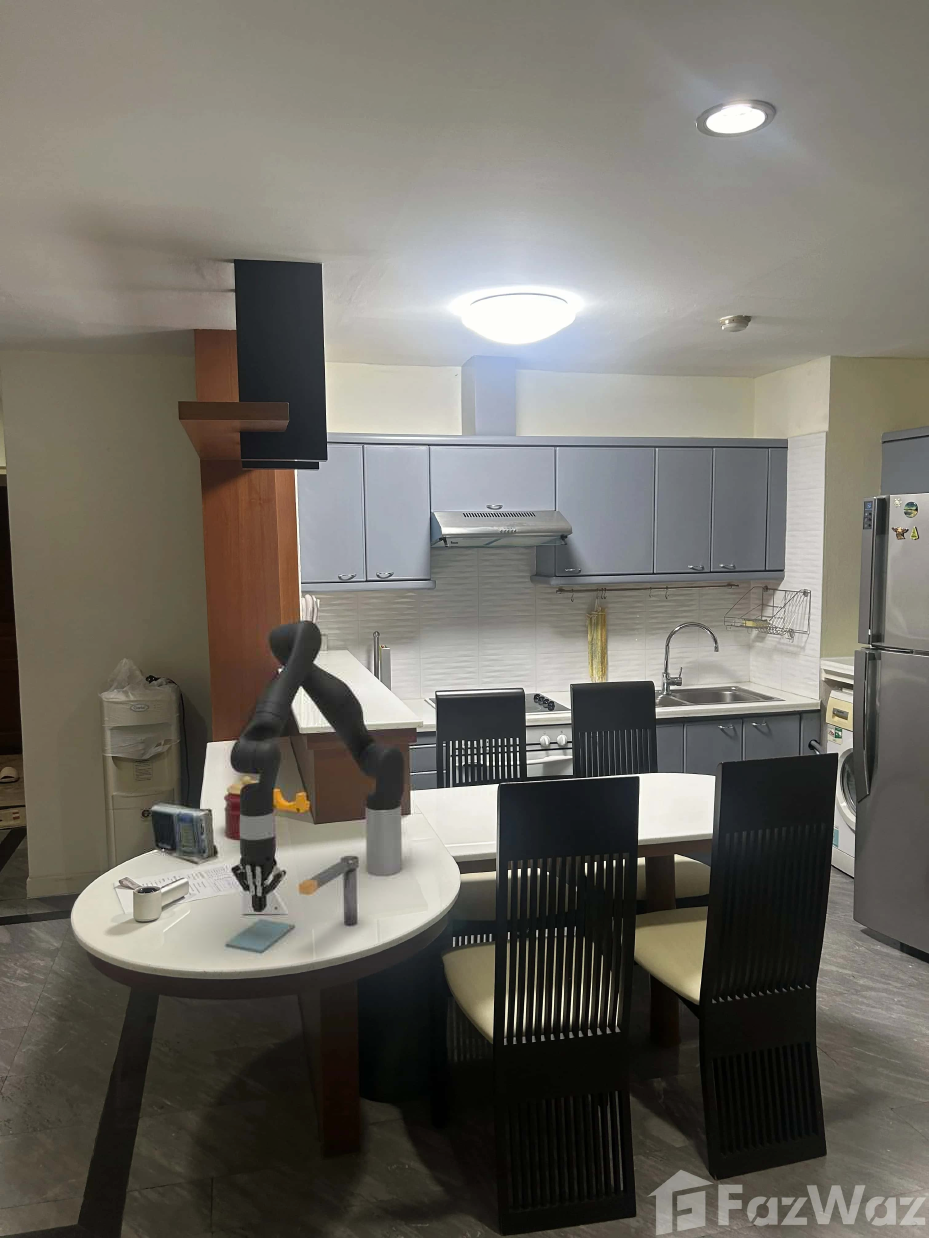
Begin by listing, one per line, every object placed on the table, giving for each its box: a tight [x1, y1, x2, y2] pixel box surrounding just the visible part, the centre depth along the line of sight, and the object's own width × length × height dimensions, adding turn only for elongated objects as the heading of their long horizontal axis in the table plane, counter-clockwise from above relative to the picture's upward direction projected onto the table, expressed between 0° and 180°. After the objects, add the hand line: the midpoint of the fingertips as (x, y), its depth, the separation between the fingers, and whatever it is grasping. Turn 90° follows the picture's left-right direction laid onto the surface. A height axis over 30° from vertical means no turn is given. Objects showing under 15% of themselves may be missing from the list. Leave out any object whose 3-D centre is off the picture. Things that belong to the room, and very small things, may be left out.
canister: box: [223, 775, 259, 841], centre depth 258 cm, size 13×13×18 cm
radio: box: [150, 803, 219, 866], centre depth 242 cm, size 23×8×14 cm, turn 48°
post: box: [342, 868, 358, 927], centre depth 198 cm, size 3×3×13 cm
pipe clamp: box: [274, 788, 311, 813], centre depth 283 cm, size 12×4×6 cm, turn 65°
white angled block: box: [242, 889, 289, 915], centre depth 204 cm, size 4×10×9 cm
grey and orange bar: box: [298, 855, 360, 896], centre depth 190 cm, size 19×4×2 cm, turn 154°
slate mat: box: [224, 918, 296, 955], centre depth 191 cm, size 13×9×1 cm
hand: (259, 910), depth 191 cm, fingers closed
